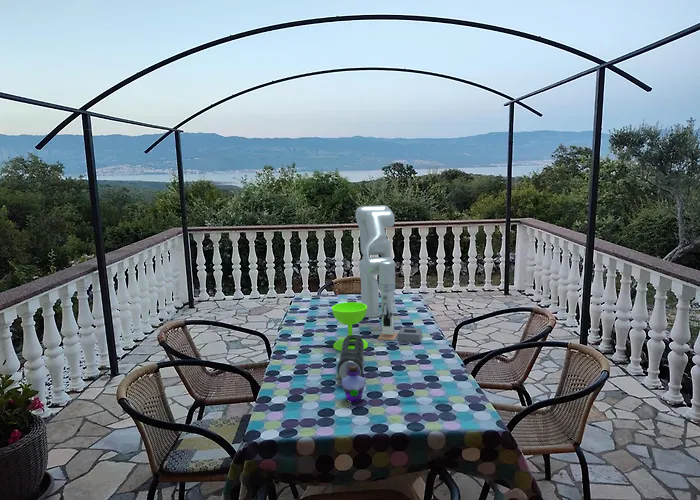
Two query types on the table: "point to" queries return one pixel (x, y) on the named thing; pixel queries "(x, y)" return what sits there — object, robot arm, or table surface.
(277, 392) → the table surface
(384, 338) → the mat
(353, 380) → the potion bottle
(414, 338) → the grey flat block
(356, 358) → the muzzle brake
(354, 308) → the wineglass
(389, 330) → the plug
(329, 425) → the table surface
